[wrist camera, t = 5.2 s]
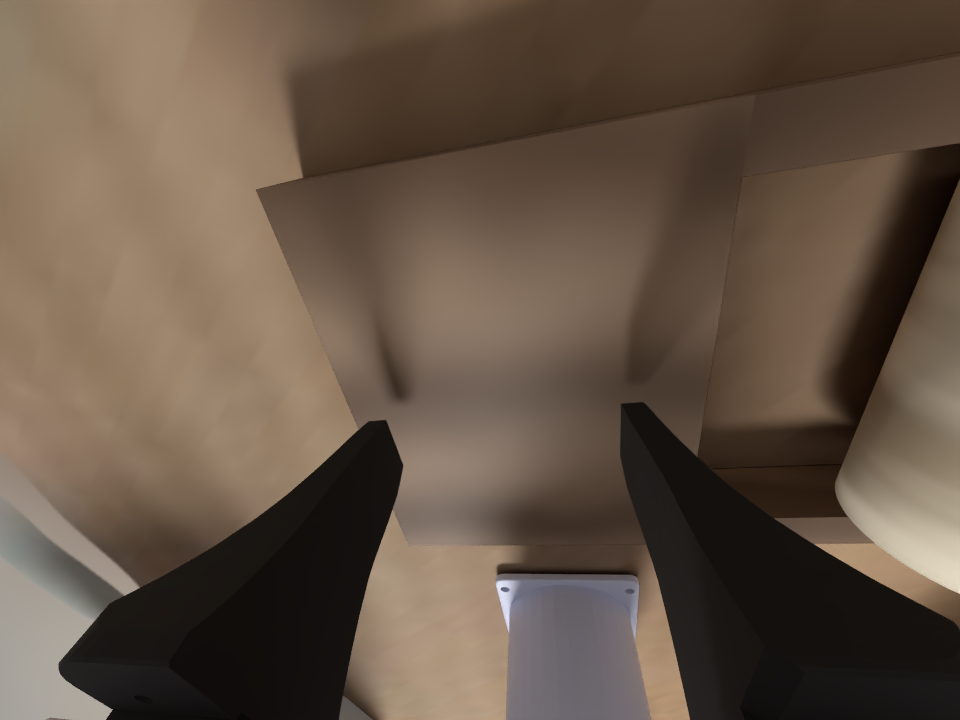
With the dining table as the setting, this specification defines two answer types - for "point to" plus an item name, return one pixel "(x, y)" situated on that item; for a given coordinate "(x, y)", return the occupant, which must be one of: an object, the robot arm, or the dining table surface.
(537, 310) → the board
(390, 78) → the dining table surface
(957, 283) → the roller
